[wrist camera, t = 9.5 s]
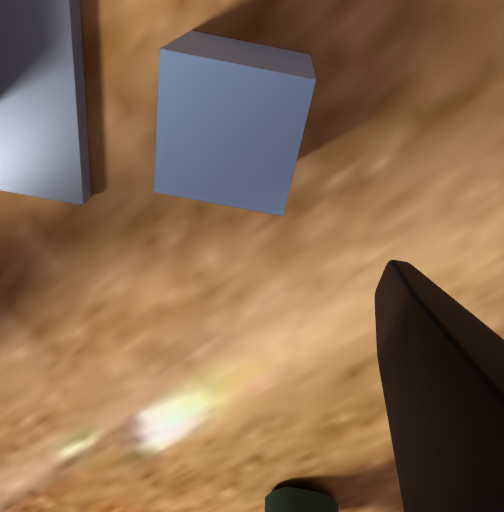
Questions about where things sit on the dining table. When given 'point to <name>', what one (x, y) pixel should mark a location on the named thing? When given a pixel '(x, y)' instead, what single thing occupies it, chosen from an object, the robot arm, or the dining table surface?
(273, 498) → the character mug
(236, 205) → the blue brick
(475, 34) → the dining table surface
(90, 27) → the dining table surface
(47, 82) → the build plate
